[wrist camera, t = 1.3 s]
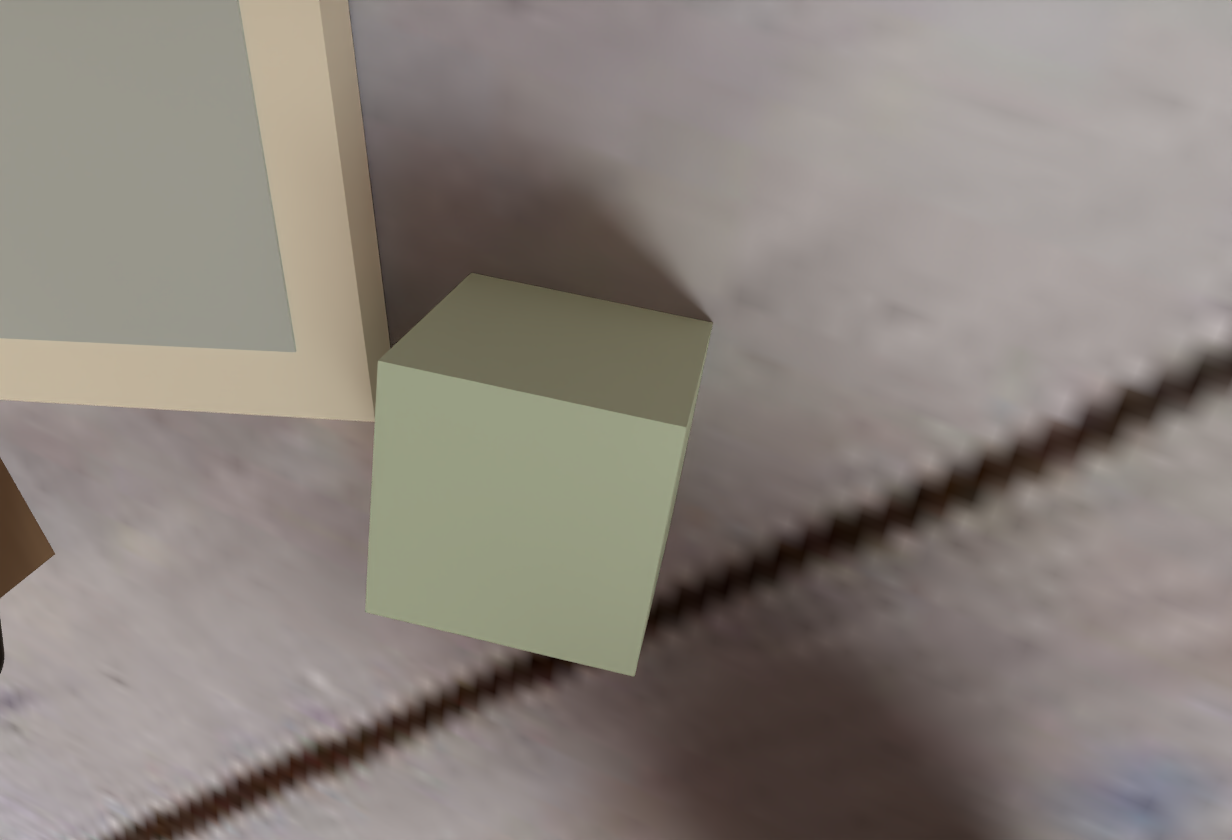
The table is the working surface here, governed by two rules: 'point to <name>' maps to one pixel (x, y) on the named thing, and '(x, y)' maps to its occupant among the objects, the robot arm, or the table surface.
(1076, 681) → the table surface
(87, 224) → the tray
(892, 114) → the table surface
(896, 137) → the table surface
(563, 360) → the sage cube
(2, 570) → the walnut cube
